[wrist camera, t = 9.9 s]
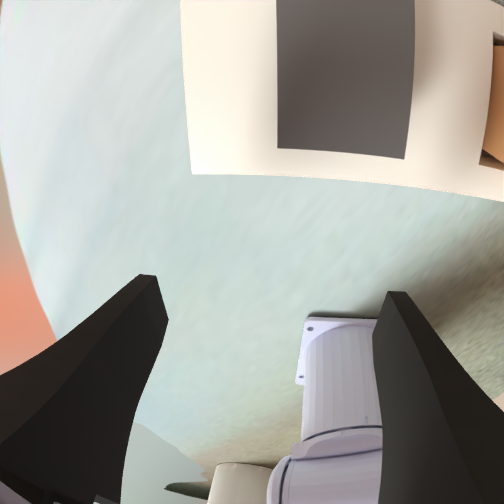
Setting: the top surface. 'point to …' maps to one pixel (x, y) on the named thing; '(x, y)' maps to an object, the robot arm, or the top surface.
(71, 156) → the top surface
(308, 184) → the top surface
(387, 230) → the top surface
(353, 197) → the top surface
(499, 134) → the tan cardboard box
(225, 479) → the utensil holder
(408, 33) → the white slotted slab
